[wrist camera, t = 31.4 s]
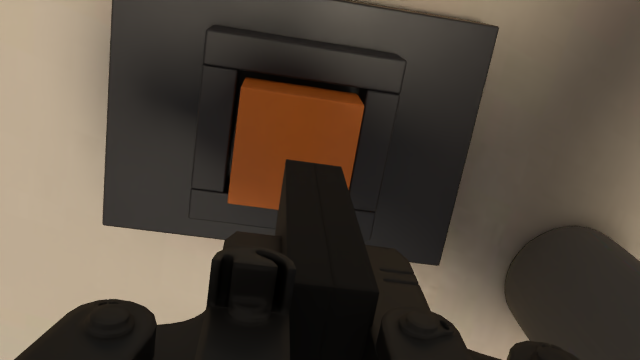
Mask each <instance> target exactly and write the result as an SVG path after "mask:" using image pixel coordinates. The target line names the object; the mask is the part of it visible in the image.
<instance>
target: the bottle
mask: <svg viewBox="0 0 640 360" xmlns="http://www.w3.org/2000/svg"><path fill="white" fill-rule="evenodd" d="M505 295H506V301H507V303H508V306H509V309H510V310H511V312H512V314H513V316H514V317H515V319H516V321H517V322H518V324H519V325H520V327H521V328H522V330H523V331H524V333H525V334H526V336H527V337H528V339H529V340H530V341H534V342H545V343H549V345H551V344H553V345H555V346H558V347H560V348H562V349H563V350H565V351H567V352H569V353H571V354H573V355H574V356H576V357H577V358H578V359H580V360H640V261H639V260H637V259H636V258H635V257H634V256H632V255H631V254H630V253H628V252H627V251H626V250H625V249H623V248H622V247H621V246H620V245H618V244H617V243H616V242H614V241H613V240H612V239H610V238H609V237H607V236H606V235H604V234H602V233H601V232H598V231H596V230H593V229H590V228H585V227H578V226H571V227H562V228H558V229H554V230H551V231H549V232H546V233H544V234H542V235H540V236H538V237H536V238H535V239H533V240H532V241H530V242H529V243H528V244H527V245H526V246H525V247H524V248H523V249H522V250H521V251H520V252H519V253H518V254H517V256H516V257H515V259H514V260H513V262H512V264H511V265H510V268H509V270H508V273H507V277H506V283H505Z"/></svg>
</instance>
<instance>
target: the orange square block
mask: <svg viewBox="0 0 640 360" xmlns="http://www.w3.org/2000/svg"><path fill="white" fill-rule="evenodd" d="M363 112H364V104H363V103H362V101H361V99H360V98H359V96H358V95H357V94H356V93H350V92H343V91H336V90H330V89H323V88H317V87H310V86H303V85H297V84H290V83H283V82H277V81H270V80H263V79H257V78H250V77H245V79H244V82H243V84H242V86H241V90H240V99H239V107H238V116H237V124H236V133H235V141H234V150H233V158H232V167H231V176H230V184H229V193H228V201H227V202H228V203H229V204H236V205H244V206H252V207H260V208H267V209H275V210H279V203H280V196H281V189H282V183H283V176H284V169H285V162H286V159H289V160H296V161H304V162H311V163H318V164H326V165H333V166H341V167H342V170H343V173H344V177H345V180H346V183H347V187H348V190H349V186H350V181H351V176H352V170H353V165H354V160H355V154H356V149H357V144H358V138H359V133H360V128H361V122H362V117H363Z"/></svg>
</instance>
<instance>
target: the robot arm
mask: <svg viewBox="0 0 640 360" xmlns="http://www.w3.org/2000/svg"><path fill="white" fill-rule="evenodd" d="M14 360H501V359H497V358H494V357H491V356H487V355H484V354H481V353H478V352H475V351H472V350H470V349H467V347H466V345H465V343H464V341H463V339H462V337H461V335H460V333H459V331H458V330H457V329H456V328H455V326H454V325H453V324H452V323H451V322H449V321H448V320H447V319H445V318H444V317H442V316H441V315H438V314H436V313H434V312H431V311H430V308H429V306H428V304H427V301H426V299H425V297H424V295H423V292H422V290H421V288H420V285H418V281H417V279H416V276H415V275H414V272H413V270H412V267H411V265H410V263H409V260H408V259H406V258H405V257H404V256H403V255H402V254H401V253H399V252H398V251H397V250H396V249H395V248H387V247H379V246H370V245H365V243H364V239H363V236H362V233H361V230H360V226H359V223H358V220H357V216H356V213H355V210H354V206H353V203H352V200H351V197H350V193H349V190H348V187H347V183H346V180H345V177H344V173H343V170H342V167H341V166H333V165H326V164H318V163H311V162H304V161H296V160H289V159H286V162H285V169H284V176H283V183H282V189H281V196H280V203H279V210H278V217H277V223H276V230H275V236H273V235H265V234H257V233H248V232H240V231H236V232H235V233H234V234H232V235H231V236H230V237H228V238H227V239H226V240H225V242H224V246H223V250H222V251H219V252H217V253H216V255H215V256H214V257H213V259H212V263H211V272H210V281H209V290H208V299H207V307H206V310H205V311H204V312H203V313H202V314H200V315H198V316H196V317H195V318H192V319H189V320H186V321H183V322H177V323H171V324H162V325H157V324H156V320H155V316H154V314H153V313H152V312H150V311H149V310H148V309H147V308H146V307H144V306H142V305H139V304H137V303H134V302H131V301H124V300H118V299H109V300H107V299H106V300H99V301H94V302H91V303H87V304H84V305H80V306H79V307H77V308H75V309H74V310H72V311H70V312H69V313H67V314H66V315H65V316H64V317H63V318H62V319H60V320H59V321H58V322H57V323H56V324H55V325H53V326H52V327H51V328H50V329H49V330H48V331H47V332H45V333H44V334H43V335H42V336H41V337H40V338H38V339H37V340H36V341H35V342H34V343H33V344H32V345H30V346H29V347H28V348H27V349H26V350H25V351H23V352H22V353H21V354H20V355H19V356H18V357H17V358H15V359H14ZM507 360H580V359H578V358H577V357H576V356H574V355H573V354H571V353H569V352H567V351H565V350H563V349H562V348H560V347H558V346H555V345H553V344H551V345H549V343H545V342H534V341H524V342H520V343H516V344H515V345H514V346H513V347H512V348H511V349H510V351H509V355H508V358H507Z"/></svg>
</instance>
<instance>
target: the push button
mask: <svg viewBox="0 0 640 360" xmlns="http://www.w3.org/2000/svg"><path fill="white" fill-rule="evenodd" d="M498 30H499V27H498V26H494V25H489V24H485V23H481V22H475V21H469V20H463V19H457V18H451V17H445V16H439V15H433V14H427V13H421V12H415V11H409V10H403V9H397V8H391V7H385V6H379V5H374V4H368V3H362V2H356V1H350V0H112V17H111V40H110V63H109V85H108V108H107V131H106V154H105V177H104V200H103V222H102V223H103V225H106V226H114V227H123V228H131V229H139V230H147V231H156V232H164V233H172V234H180V235H189V236H197V237H205V238H213V239H222V240H226V239H227V238H228V237H230V236H231V235H232V234H234V233H235V232H236V231H240V232H248V233H257V234H265V235H273V236H275V230H276V223H277V217H278V210H275V209H267V208H260V207H252V206H244V205H236V204H229V203H228V202H227V201H228V193H229V184H230V176H231V167H232V158H233V150H234V141H235V133H236V124H237V116H238V107H239V99H240V90H241V86H242V84H243V82H244V79H245V77H250V78H257V79H263V80H270V81H277V82H283V83H290V84H297V85H303V86H310V87H317V88H323V89H330V90H336V91H343V92H350V93H356V94H357V95H358V96H359V98H360V99H361V101H362V103H363V104H364V112H363V117H362V122H361V128H360V133H359V138H358V144H357V149H356V154H355V160H354V165H353V170H352V176H351V181H350V186H349V193H350V197H351V200H352V203H353V206H354V210H355V213H356V216H357V220H358V223H359V226H360V230H361V233H362V236H363V239H364V243H365V245H370V246H379V247H387V248H395V249H396V250H397V251H398V252H399V253H401V254H402V255H403V256H404V257H405V258H406V259H408V260H409V262H412V263H420V264H428V265H436V266H438V265H439V264H440V260H441V256H442V252H443V248H444V244H445V240H446V236H447V232H448V228H449V224H450V220H451V216H452V212H453V208H454V204H455V200H456V196H457V193H458V189H459V185H460V181H461V177H462V173H463V169H464V165H465V161H466V157H467V153H468V149H469V145H470V141H471V137H472V133H473V129H474V125H475V121H476V117H477V113H478V109H479V105H480V101H481V97H482V93H483V89H484V85H485V81H486V77H487V73H488V69H489V65H490V61H491V57H492V54H493V50H494V46H495V42H496V38H497V34H498Z"/></svg>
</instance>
